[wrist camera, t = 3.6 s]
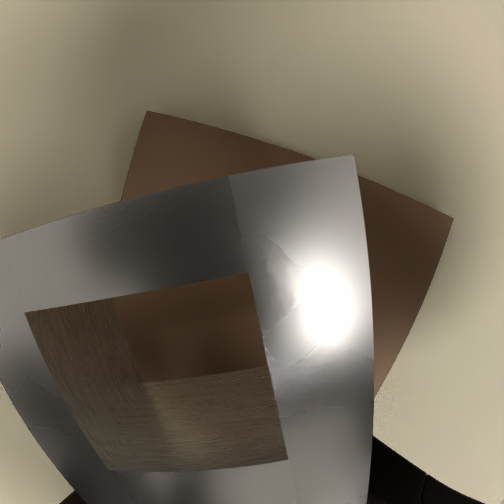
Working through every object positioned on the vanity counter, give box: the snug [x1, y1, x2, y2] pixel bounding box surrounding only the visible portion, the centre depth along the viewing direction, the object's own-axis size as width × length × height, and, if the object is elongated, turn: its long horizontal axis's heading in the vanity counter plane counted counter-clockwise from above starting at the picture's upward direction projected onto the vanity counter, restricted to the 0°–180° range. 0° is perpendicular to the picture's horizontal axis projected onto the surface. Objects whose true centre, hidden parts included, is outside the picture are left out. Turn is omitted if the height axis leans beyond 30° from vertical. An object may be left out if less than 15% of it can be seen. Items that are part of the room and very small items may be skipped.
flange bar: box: [0, 155, 374, 504], centre depth 6 cm, size 14×6×3 cm, turn 11°
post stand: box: [113, 111, 453, 397], centre depth 9 cm, size 16×10×5 cm, turn 163°
